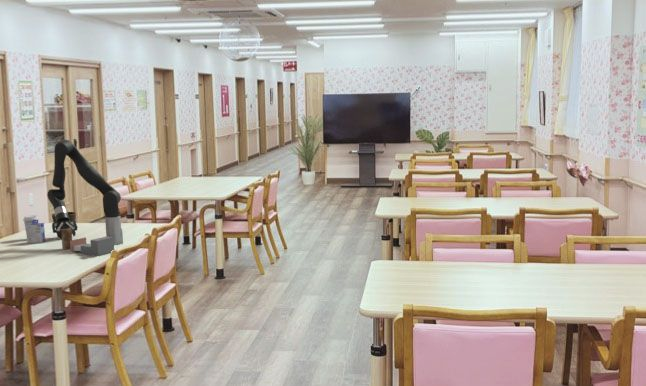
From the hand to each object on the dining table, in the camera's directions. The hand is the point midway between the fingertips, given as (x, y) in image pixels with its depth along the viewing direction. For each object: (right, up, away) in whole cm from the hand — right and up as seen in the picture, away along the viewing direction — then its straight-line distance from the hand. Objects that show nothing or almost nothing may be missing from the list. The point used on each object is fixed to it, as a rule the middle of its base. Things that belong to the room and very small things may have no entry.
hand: (67, 236), depth 441 cm
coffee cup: (-35, -4, +36) cm, 51 cm away
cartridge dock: (+23, -9, -13) cm, 27 cm away
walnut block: (0, -8, +2) cm, 8 cm away
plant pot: (-15, -3, +38) cm, 41 cm away
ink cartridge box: (-28, -5, +24) cm, 38 cm away
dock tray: (+12, -8, -7) cm, 16 cm away
